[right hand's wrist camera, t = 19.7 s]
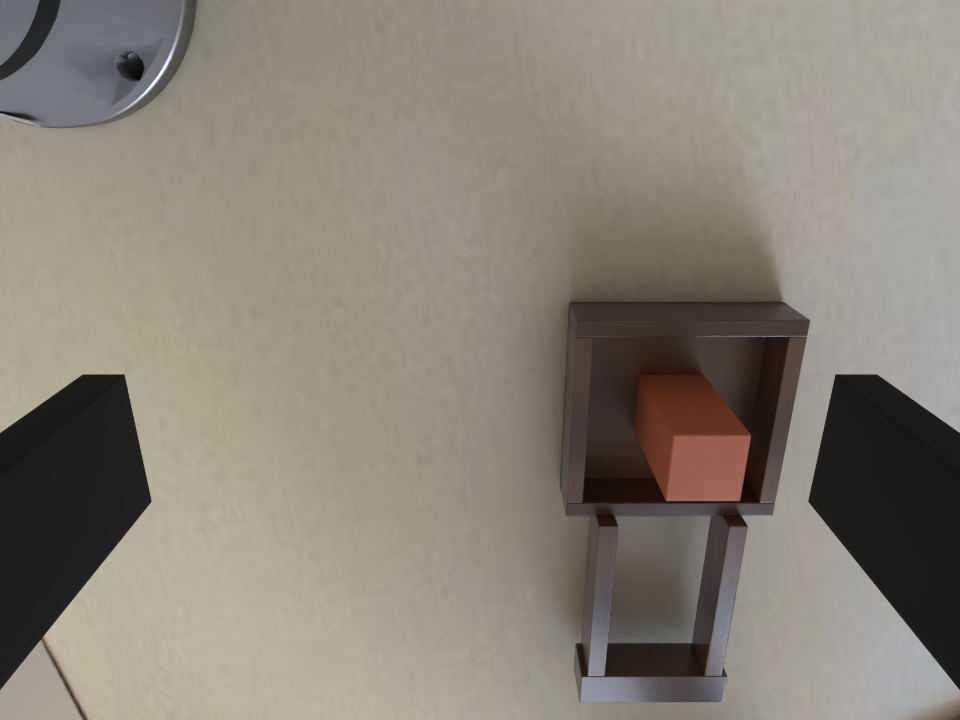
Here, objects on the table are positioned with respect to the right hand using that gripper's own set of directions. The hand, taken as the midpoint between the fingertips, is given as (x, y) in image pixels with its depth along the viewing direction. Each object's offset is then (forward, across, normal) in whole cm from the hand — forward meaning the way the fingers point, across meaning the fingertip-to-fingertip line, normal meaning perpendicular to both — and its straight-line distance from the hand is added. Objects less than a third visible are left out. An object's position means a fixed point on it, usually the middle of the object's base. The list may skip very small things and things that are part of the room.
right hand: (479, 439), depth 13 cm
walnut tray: (+28, +12, -20) cm, 36 cm away
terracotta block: (+27, +12, -12) cm, 32 cm away
